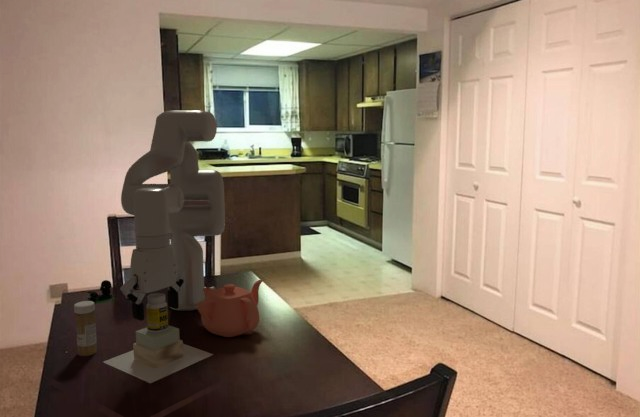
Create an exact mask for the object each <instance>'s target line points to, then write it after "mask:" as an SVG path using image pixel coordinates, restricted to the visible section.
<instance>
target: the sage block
mask: <svg viewBox="0 0 640 417" xmlns="http://www.w3.org/2000/svg"><path fill="white" fill-rule="evenodd" d="M180 340H181V339H180V328H178V327H175V326H173V325H169V324H168V329H167V330H166V331H164V332H160V333H151V332H149V331H148V330H147V327H143V328H141V329H138V330H135V343H136V344H139V345H141V346H144V347H147V348H149V349H152V350H158V349H160V348H163V347H165V346H168V345H170V344H173V343H175V342H178V341H180Z"/></svg>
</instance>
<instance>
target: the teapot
mask: <svg viewBox="0 0 640 417" xmlns="http://www.w3.org/2000/svg"><path fill="white" fill-rule="evenodd" d="M263 282H264V279H263V278H262V279H258V280H256V281H255V282H254V283H253V286H252V288H251V291H250V290H248V289H247V288H243V287H240V286H236V285H235V284H233V283H227V284H225V285H223V287H218V288H215V290H211V289H210V287H209V286H208V287H207V286H205V287H206V288H203V291H204V295H205V300H204V301H201V302H199V303H198V305H197V308H198V309H197V311H198V313H199V314H200V316H201V319H200V320H201V323H202V324H201V325H202V326H203V327H204V329H206V330H207V331H208V332H210V333H211V334H212V335H213V334H214V335H217V336H221V337H225V338H232V337H237V336H240V335H247V336H248V335H252V334H253V333H254V332H253V330H255V329H256V328H257V326H258V325H259V323H260V313H259V309H258V305H259V300H260V299H259V297H260V296H259V289H260V286H261V284H262V283H263Z"/></svg>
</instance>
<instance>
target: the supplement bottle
mask: <svg viewBox="0 0 640 417" xmlns="http://www.w3.org/2000/svg"><path fill="white" fill-rule="evenodd" d="M166 299H167V298H166V294H165V293H163V292H155V293H154V292H152V293H149V294H148V295H147V304H146V326H147V330H148V331H149V332H151V333H160V332H164V331H166V330H167V329H168V325H169V314H168V313H169V312H168V310H169V307H168V301H166Z"/></svg>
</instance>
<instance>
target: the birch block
mask: <svg viewBox="0 0 640 417" xmlns="http://www.w3.org/2000/svg"><path fill="white" fill-rule="evenodd" d="M183 344H184V342H183V340H182V339H180V341H178V342H175V343H173V344H170V345H168V346H165V347H163V348H160V349H158V350H152V349H149V348H147V347H144V346H141V345H139V344H136V342H134V343H132V348H133V349H132V350H134V360H136V361H138V362H141V363H143V364H145V365H148V366H150V367H153V368H155V369H156V368H158V367H160V366H163V365H165V364H167V363H170V362H172V361H174V360H176V359H179V358H181V357H183Z"/></svg>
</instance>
